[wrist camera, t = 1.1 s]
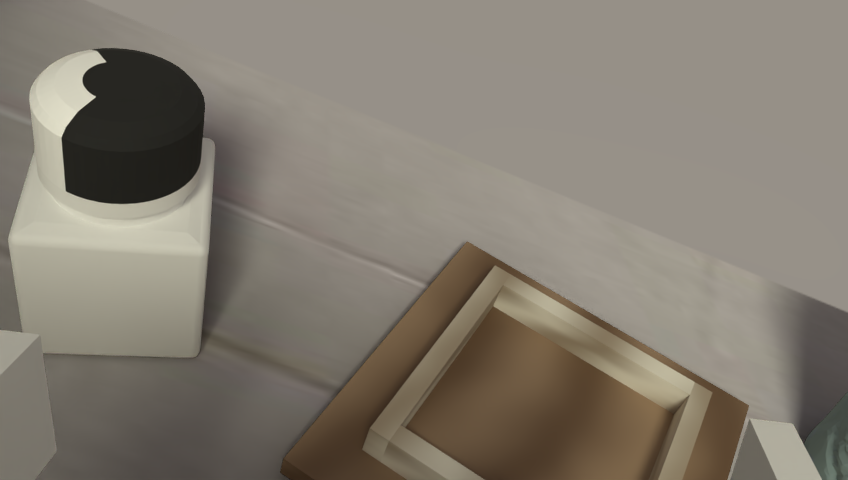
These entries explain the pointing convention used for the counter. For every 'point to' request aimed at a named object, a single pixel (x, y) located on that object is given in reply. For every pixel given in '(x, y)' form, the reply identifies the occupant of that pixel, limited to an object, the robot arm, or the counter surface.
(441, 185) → the counter surface
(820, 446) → the green plant pot
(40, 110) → the container
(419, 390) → the collar board
